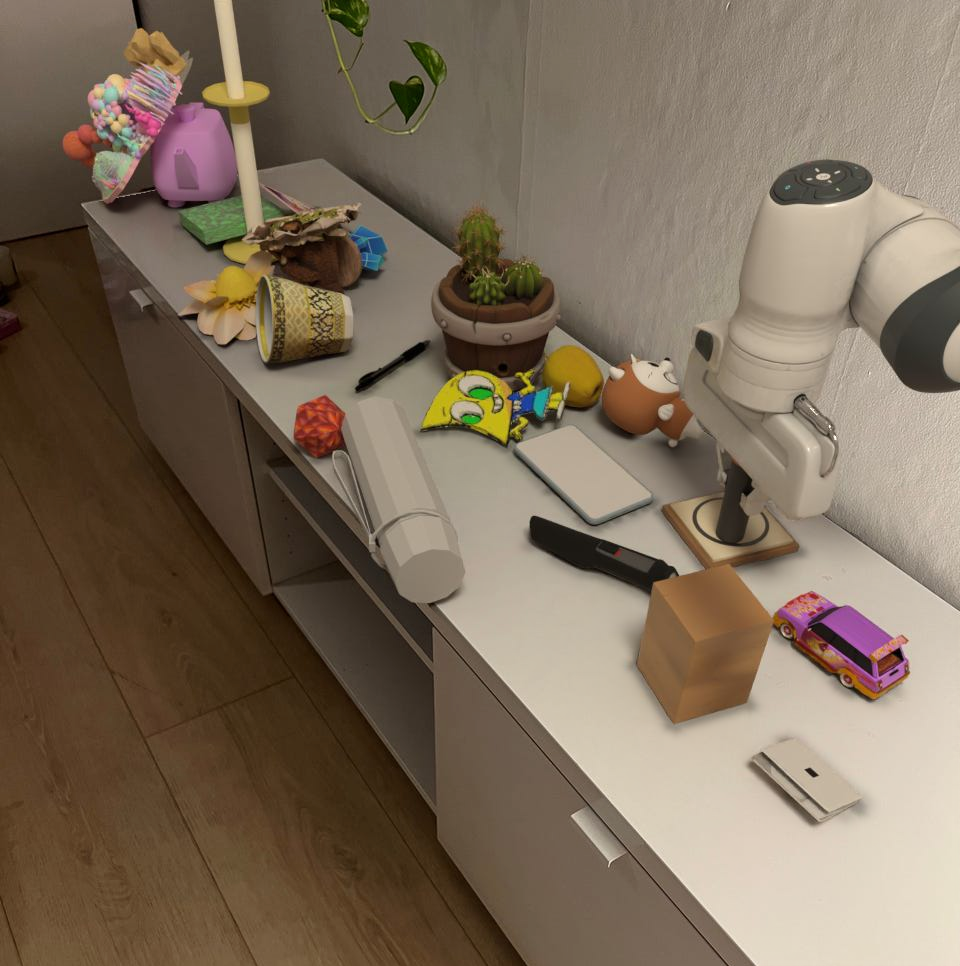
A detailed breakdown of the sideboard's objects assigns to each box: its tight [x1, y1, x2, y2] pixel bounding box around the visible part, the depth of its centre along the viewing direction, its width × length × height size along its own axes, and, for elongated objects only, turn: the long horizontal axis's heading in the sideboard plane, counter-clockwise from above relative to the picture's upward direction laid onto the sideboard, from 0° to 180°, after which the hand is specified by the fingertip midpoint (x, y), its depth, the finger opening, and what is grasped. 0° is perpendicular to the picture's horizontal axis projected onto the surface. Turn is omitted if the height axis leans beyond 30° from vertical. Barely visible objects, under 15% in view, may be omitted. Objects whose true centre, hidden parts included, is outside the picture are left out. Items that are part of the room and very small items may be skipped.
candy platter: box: [61, 27, 194, 205], centre depth 143 cm, size 25×24×9 cm
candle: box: [201, 0, 280, 265], centre depth 127 cm, size 10×10×38 cm
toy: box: [420, 369, 571, 449], centre depth 110 cm, size 10×1×15 cm
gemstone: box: [335, 224, 389, 288], centre depth 135 cm, size 7×9×12 cm
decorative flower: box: [177, 250, 287, 345], centre depth 127 cm, size 15×11×10 cm
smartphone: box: [513, 424, 655, 526], centre depth 105 cm, size 8×1×15 cm
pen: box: [354, 339, 431, 392], centre depth 120 cm, size 14×2×1 cm, turn 144°
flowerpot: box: [430, 197, 562, 398], centre depth 112 cm, size 14×15×20 cm
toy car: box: [772, 590, 911, 700], centre depth 87 cm, size 6×12×5 cm, turn 35°
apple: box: [541, 344, 605, 408], centre depth 114 cm, size 6×6×8 cm
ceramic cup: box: [256, 275, 355, 364], centre depth 120 cm, size 13×10×10 cm
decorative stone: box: [293, 394, 346, 459], centre depth 106 cm, size 6×7×8 cm
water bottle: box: [331, 396, 466, 604], centre depth 97 cm, size 9×8×25 cm
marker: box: [715, 457, 755, 543], centre depth 94 cm, size 3×3×11 cm
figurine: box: [601, 353, 704, 448], centre depth 109 cm, size 9×9×12 cm
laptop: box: [751, 737, 863, 823], centre depth 78 cm, size 7×6×2 cm
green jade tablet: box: [177, 194, 285, 245], centre depth 143 cm, size 11×12×2 cm
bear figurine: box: [241, 201, 363, 295], centre depth 128 cm, size 14×15×12 cm
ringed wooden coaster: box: [661, 490, 800, 570], centre depth 100 cm, size 10×10×1 cm
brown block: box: [636, 564, 774, 725], centre depth 82 cm, size 7×7×10 cm
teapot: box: [150, 101, 238, 208], centre depth 148 cm, size 20×12×13 cm, turn 3°
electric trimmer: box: [529, 515, 680, 592], centre depth 95 cm, size 4×16×3 cm, turn 58°
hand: (738, 497), depth 94 cm, fingers closed on marker, 3 cm apart
